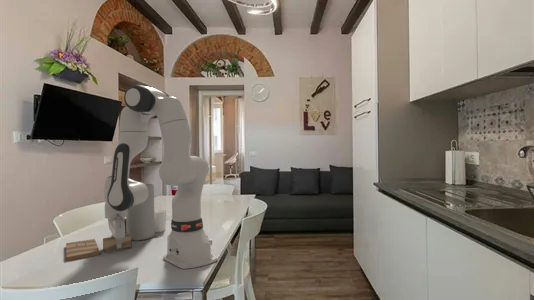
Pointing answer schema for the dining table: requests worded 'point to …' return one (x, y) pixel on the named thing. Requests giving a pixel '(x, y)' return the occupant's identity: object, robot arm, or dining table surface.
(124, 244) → the sanding block
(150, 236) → the cylinder vase
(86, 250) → the board
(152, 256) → the dining table surface
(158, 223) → the white cup
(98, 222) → the dining table surface
